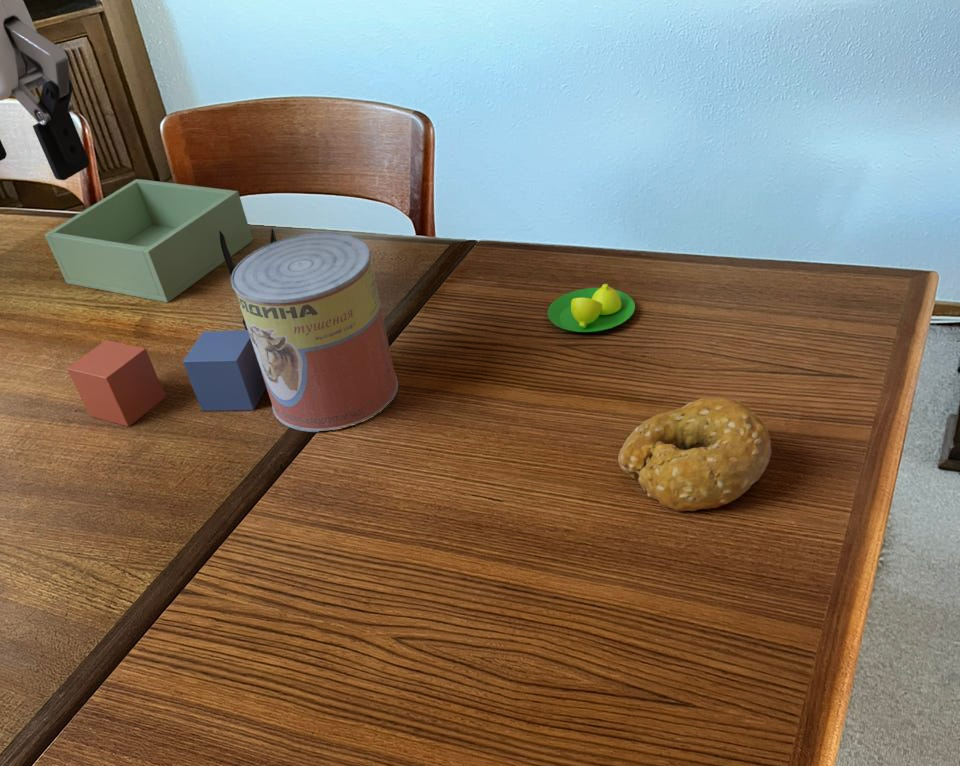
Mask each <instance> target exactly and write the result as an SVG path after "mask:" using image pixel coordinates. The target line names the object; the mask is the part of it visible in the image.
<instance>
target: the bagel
mask: <svg viewBox="0 0 960 766" xmlns="http://www.w3.org/2000/svg"><path fill="white" fill-rule="evenodd" d="M771 445H772V440H771V438H770V434H769V430H768V427H767V425H766V424H764V422H763V421H762V419H760V418H759V417H758V415H757V414H756V413H755V412H754V411H752V410H751V408H750V407H748V406H747V405H745V404H744V403H743V402H741V401H740V400H732V399H730V398H728V397H722V396H715V397H714V396H713V397H701V398H698V399H697V400H695V401H690V402H688V403H687V404H685V405H684V406H681V407H678V408H676V409H673V410H670V411H665V412H661V413H657V414H655V415H654V416H652V417H650V418H647V419H645V420H644V421H643V423H642V424H640V425H638V426H637V427H636V428H635V429H633V431H632V432H631V433H630V434H629V436H628V437H627V438H626V440H625V441H624V443H623V445H622V447H621V448H620V450H619V454H618V456H617V458H618V465H619V468H620V469H621V471H622V472H623V473H624V474H626V475H629V476H630V477H631V478H632V479H633V480H638V482H639V484H640V487H641V488H642V490H643V491H644V492H646V493H647V497H648V498H651V499H653V500H656V501H659V504H660V505H661V506H664V507H667V508H670V509H672V510H674V511H677V512H686V511H689V512H695V511H697V510H699V511H700V510H710V509H716V508H719V507H721V506H725V505H727V504H729V503H731V502H733V501H735V500H737V499H738V498H739V497H741V496H742V495H743V494H745V493H746V492H747V491H749V489H750V488H751V487H752V485H754V484H755V483H756V482H758V481H759V480H760V479H761V477H762V475H763V474H764V472H765V470H767V467H768V466H769V463H770V459H771V455H772V446H771Z"/></svg>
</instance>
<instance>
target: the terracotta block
mask: <svg viewBox="0 0 960 766" xmlns="http://www.w3.org/2000/svg"><path fill="white" fill-rule="evenodd" d="M66 370H67V373H68V375H69V377H70V379H71V381H72V383H73V385H74V386H75V389H76V391H77V393H78V395H79V397H80V398H81V401H82V403H83V405H84V407H85V410H86V412H87V413H88V415H89V417H91V418H94V419H98V420H101V421H106V422H109V423H113V424H118V425H121V426H124V427H127V428H128V427H130V426H132V425H133V424H134V423H136V422H137V421H138V420H139V419H141V418H142V417H143V416H144V415H146V414H147V413H148V412H149V411H150V410H152V409H153V408H154V407H156V406H157V405H158V404H159V403H160V402H162V401H163V400H164V399H165V398H166V397H167V396H166V394H165V392H164V389H163V386H162V383H161V381H160V379H159V377H158V375H157V373H156V369H155V368H154V366H153V362H152V360H151V358H150V355H149V353H148V351H147V348H145V347H141V346H137V345H131V344H127V343H122V342H117V341H113V340H110V339H105V340H104V341H102V342H100V343H99V344H98V345H97V346H95V347H94V348H92V349H91V350H90V351H89V352H87V353H85V354H84V355H82V357H80V358H78V359H77V360H76V361H75V362H73V363H72V364H70V365H69V366H67V367H66Z"/></svg>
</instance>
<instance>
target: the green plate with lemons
mask: <svg viewBox="0 0 960 766" xmlns="http://www.w3.org/2000/svg"><path fill="white" fill-rule="evenodd" d="M635 309H636V304H635V301H634V299H633V298H632V297H631V296H630V295H628V294H626V293H625V292H623V291H621V290H617V289H614V288H613V287H611V286H609V284H608V283H603V284H602V285H601V287H589V288H582V289H577V290H573V291H570V292H567V293H565V294H563V295H561V296H559V297H557V298H556V299H555V300H554V301H552V303H551V304H550V305H549V306H548V308H547V317H548V319H549V321H550V322H551V323H552V324H553V325H554V326H556V327H558V328H560V329H562V330H565V331H570V332H577V333H595V332H601V331H606V330H608V329H613V328H614V327H617V326H619V325H621V324H623V323H625V322H626V321H627V320H628V319H630V318H631V317H632V316H633V314H634V313H635Z"/></svg>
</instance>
